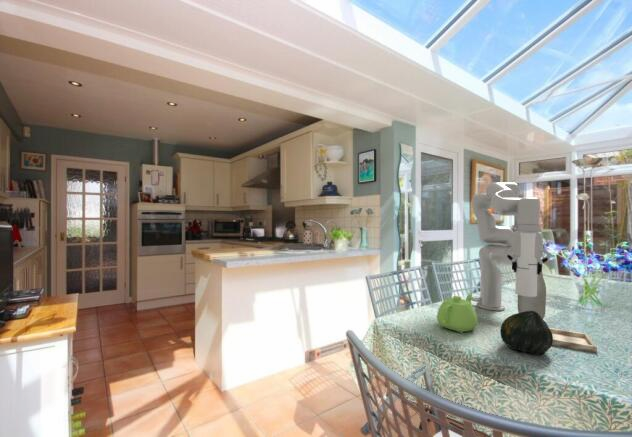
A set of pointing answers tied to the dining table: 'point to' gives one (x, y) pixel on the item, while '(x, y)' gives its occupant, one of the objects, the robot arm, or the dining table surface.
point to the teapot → (457, 314)
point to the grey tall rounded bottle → (534, 299)
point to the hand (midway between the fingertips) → (526, 272)
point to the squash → (527, 332)
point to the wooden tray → (573, 340)
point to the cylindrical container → (527, 267)
